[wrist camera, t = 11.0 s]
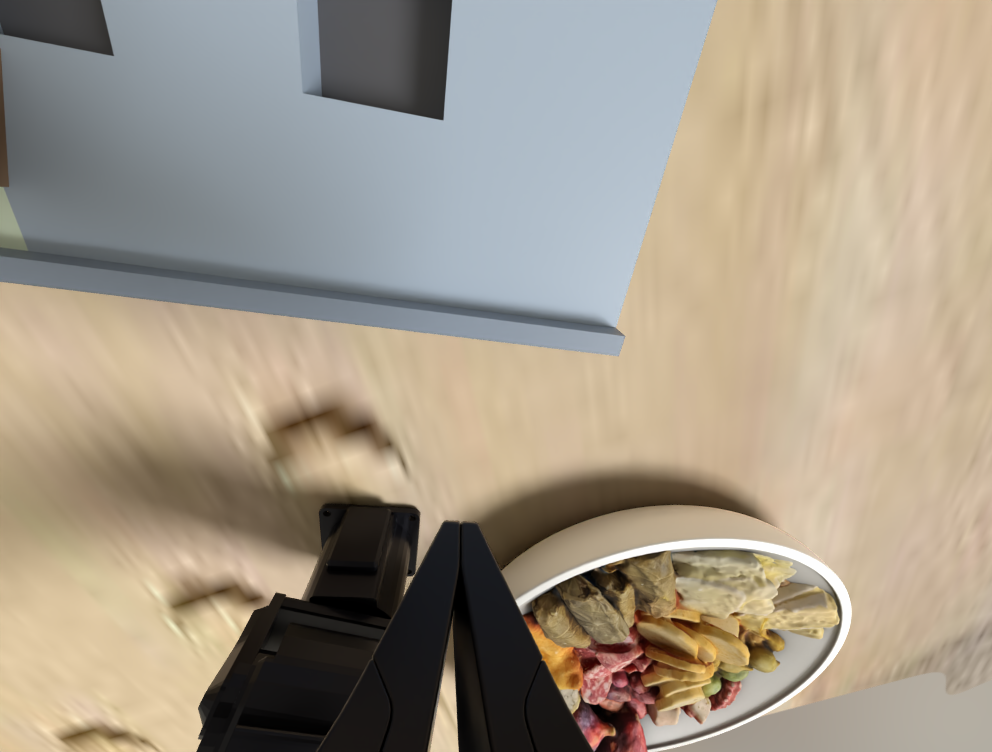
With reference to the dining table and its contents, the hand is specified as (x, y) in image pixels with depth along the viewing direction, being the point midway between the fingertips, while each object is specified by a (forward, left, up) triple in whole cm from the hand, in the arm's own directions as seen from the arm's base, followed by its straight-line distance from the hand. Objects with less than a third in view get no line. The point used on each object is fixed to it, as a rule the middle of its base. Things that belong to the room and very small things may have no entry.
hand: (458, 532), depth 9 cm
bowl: (-23, -17, -13) cm, 31 cm away
